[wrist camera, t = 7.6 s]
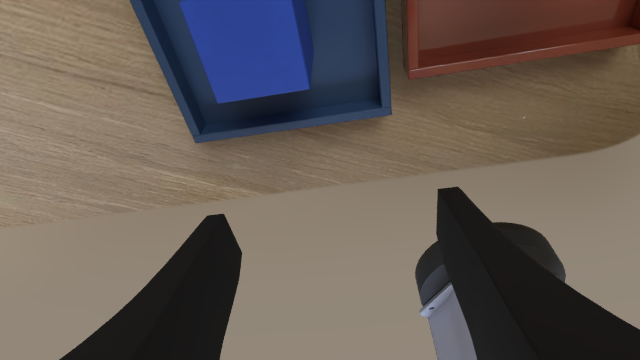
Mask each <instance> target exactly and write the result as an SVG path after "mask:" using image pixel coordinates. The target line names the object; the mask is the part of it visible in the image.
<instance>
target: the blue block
mask: <svg viewBox="0 0 640 360" xmlns="http://www.w3.org/2000/svg"><path fill="white" fill-rule="evenodd" d="M179 5H180V7H181V10H182V12H183V15H184V18H185V20H186V23H187V25H188V28H189V31H190V33H191V36H192V38H193V41H194V44H195V46H196V49H197V51H198V54H199V57H200V59H201V62H202V64H203V67H204V69H205V72H206V75H207V77H208V80H209V82H210V85H211V88H212V90H213V93H214V95H215V98H216V101H217V103H225V102H232V101H238V100H245V99H251V98H257V97H264V96H270V95H276V94H283V93H289V92H295V91H302V90H308V89H310V85H311V75H312V65H313V55H314V49H313V43H312V38H311V32H310V27H309V22H308V16H307V11H306V5H305V0H181V1H180V2H179Z"/></svg>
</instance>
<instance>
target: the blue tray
mask: <svg viewBox="0 0 640 360" xmlns="http://www.w3.org/2000/svg"><path fill="white" fill-rule="evenodd" d="M180 1H181V0H130V2H131V4H132V6H133V9H134V11H135V13H136V15H137V17H138V19H139V22H140V24H141V26H142V28H143V30H144V32H145V35H146V37H147V39H148V41H149V43H150V45H151V48H152V50H153V52H154V54H155V56H156V58H157V61H158V63H159V65H160V67H161V69H162V71H163V74H164V76H165V78H166V80H167V82H168V84H169V87H170V89H171V91H172V93H173V95H174V97H175V100H176V102H177V104H178V106H179V108H180V110H181V113H182V115H183V117H184V119H185V121H186V123H187V126H188V128H189V130H190V132H191V134H192V136H193V138H194V141H195V143H201V142H208V141H215V140H221V139H228V138H235V137H242V136H249V135H256V134H263V133H270V132H277V131H284V130H291V129H298V128H305V127H311V126H318V125H325V124H332V123H339V122H346V121H353V120H360V119H367V118H374V117H381V116H388V115H391V114H392V109H391V92H390V75H389V58H388V40H387V23H386V6H385V0H305V5H306V11H307V16H308V22H309V27H310V32H311V38H312V43H313V49H314V55H313V65H312V75H311V85H310V89H308V90H302V91H295V92H289V93H283V94H276V95H270V96H264V97H257V98H251V99H245V100H238V101H232V102H225V103H217V101H216V98H215V95H214V93H213V90H212V88H211V85H210V82H209V80H208V77H207V75H206V72H205V69H204V67H203V64H202V62H201V59H200V57H199V54H198V51H197V49H196V46H195V44H194V41H193V38H192V36H191V33H190V31H189V28H188V25H187V23H186V20H185V18H184V15H183V12H182V10H181V7H180V5H179V2H180Z"/></svg>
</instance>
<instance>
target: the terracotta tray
mask: <svg viewBox="0 0 640 360" xmlns="http://www.w3.org/2000/svg"><path fill="white" fill-rule="evenodd" d="M401 5H402V36H403V67H404V70H405V72H406V74H407V76H408V79H409V80H410V79H417V78H423V77H430V76H436V75H443V74H449V73H455V72H462V71H468V70H475V69H481V68H487V67H494V66H500V65H507V64H513V63H520V62H526V61H532V60H539V59H545V58H552V57H558V56H565V55H571V54H577V53H584V52H590V51H597V50H603V49H610V48H616V47H622V46H629V45H635V44H640V0H401Z"/></svg>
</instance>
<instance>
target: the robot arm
mask: <svg viewBox="0 0 640 360" xmlns="http://www.w3.org/2000/svg"><path fill="white" fill-rule="evenodd" d="M436 234H437V238H438V242H439V246H440V251H441V254H442V258H443V262H444V265H445V268H446V270H447V273H448V276H449V278H450V281H451V282H449V283H448V284H447V285H446V286H445V287H444V288H443V289H442V290H441V291H440V292H438V293H437V294H436V295H435V296H434V297H433V298H432V299H431V300H430V301H429V302H428V303H426V304H425V305H424V306H423V307H422V308H421V309H420V311H419V312H420V315H421V316H423V317H427V318H428V320H429V324H430V329H431V333H432V337H433V341H434V345H435V350H436V354H437V359H438V360H640V330H639V329H638V328H636V327H634V326H632V325H631V324H629V323H627V322H625V321H623V320H622V319H620V318H618V317H617V316H615V315H613V314H612V313H610V312H609V311H607V310H605V309H604V308H602V307H601V306H599V305H598V304H596V303H594V302H593V301H591V300H590V299H588V298H586V297H585V296H583V295H582V294H580V293H578V292H577V291H576V290H574V289H573V288H571V287H570V286H569V285H567V284H566V283H564V282H563V281H561V280H560V279H559V278H558V277H557V276H555V275H553V274H552V273H551V272H549V271H548V270H547V269H545V268H544V267H543V266H541V265H540V264H539V263H538V262H536V261H535V260H534V259H533V258H531V257H530V256H529V255H528V254H527V253H525V252H524V251H523V250H522V249H521V248H520V247H518V246H517V245H516V244H515V243H514V242H513V241H512V240H510V239H509V238H508V237H507V236H506V235H505V234H504V233H503V232H502V231H501V230H500V229H499V228H498V227H497V226H495V225H494V224H493V223H492V222H491V221H490V220H489V219H488V218H487V217H486V216H485V215H484V214H483V213H482V212H481V211H480V210H479V209H478V207H476V205H475V204H474V203H473V202H472V201H471V200H470V199H469V198H468V197H467V196H466V194H465V193H464V192H463V191H462V190H461V189H460V188H459V187H452V188H443V189H438V201H437V232H436ZM241 257H242V252H241V249H240V247H239V245H238V243H237V241H236V239H235V237H234V235H233V232H232V230H231V228H230V226H229V224H228V222H227V220H226V217H225V215H224V214H218V215H210V216H207V217H206V218H205V219H204V220H203V221H202V222H201V223H200V224H199V226H198V227H197V228H196V229H195V231H194V232H193V233H192V234H191V235H190V236H189V238H188V239H187V240H186V241H185V242H184V244H183V245H182V246H181V247H180V248H179V249H178V251H177V252H176V253H175V254H174V255H173V256H172V258H171V259H170V260H169V261H168V262H167V263H166V264H165V266H164V267H163V268H162V269H161V270H160V271H159V272H158V273H157V274H156V275H155V276H154V277H153V278H152V279H151V281H150V282H149V283H148V284H147V285H146V286H145V287H144V288H143V289H142V290H141V291H140V292H139V293H138V294H137V295H136V296H135V297H134V298H133V299H132V300H131V301H130V302H129V303H128V304H126V305H125V306H124V307H123V309H121V310H120V311H119V312H118V313H117V314H116V315H114V316H113V317H112V318H111V319H110V320H109V321H108V322H106V323H105V324H104V325H103V326H101V327H100V328H99V329H98V330H97V331H95V332H94V333H93V334H92V335H91V336H89V337H88V338H87V339H86V340H85V341H83V342H82V343H81V344H79V345H78V346H77V347H76V348H75V349H73V350H72V351H71V352H69V353H68V354H66V355H65V356H64V357H62V358H61V359H60V360H219V359H220V353H221V349H222V344H223V340H224V336H225V332H226V328H227V324H228V321H229V316H230V313H231V309H232V305H233V301H234V297H235V293H236V289H237V285H238V281H239V275H240V268H241Z"/></svg>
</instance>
